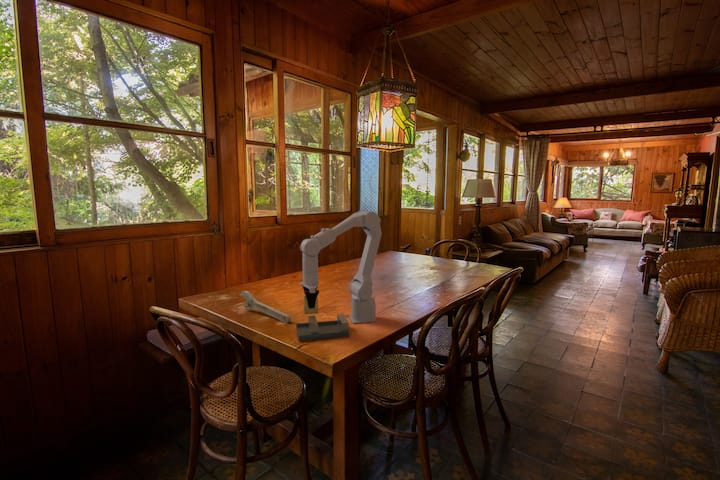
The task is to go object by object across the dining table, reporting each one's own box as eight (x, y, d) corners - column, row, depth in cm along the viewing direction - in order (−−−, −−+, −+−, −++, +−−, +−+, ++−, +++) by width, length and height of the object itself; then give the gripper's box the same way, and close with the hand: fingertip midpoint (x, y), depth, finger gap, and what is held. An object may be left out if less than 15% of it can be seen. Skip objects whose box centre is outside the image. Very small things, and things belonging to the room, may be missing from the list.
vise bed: (343, 324, 144) (342, 312, 144) (349, 337, 133) (349, 323, 132) (296, 328, 140) (296, 315, 139) (298, 341, 129) (298, 328, 128)
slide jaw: (315, 324, 140) (315, 315, 140) (318, 334, 131) (318, 325, 131) (308, 325, 140) (308, 316, 139) (311, 335, 131) (311, 325, 130)
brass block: (316, 309, 143) (316, 294, 142) (318, 313, 139) (317, 298, 138) (303, 310, 142) (303, 295, 141) (304, 314, 138) (304, 298, 137)
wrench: (287, 330, 146) (239, 307, 162) (290, 329, 148) (242, 306, 164) (288, 311, 144) (239, 289, 161) (291, 310, 146) (243, 288, 162)
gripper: (298, 267, 144) (299, 300, 146) (300, 276, 130) (301, 313, 132) (316, 266, 146) (317, 299, 148) (320, 275, 132) (321, 312, 134)
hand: (311, 306), depth 140 cm, fingers closed on brass block, 4 cm apart
